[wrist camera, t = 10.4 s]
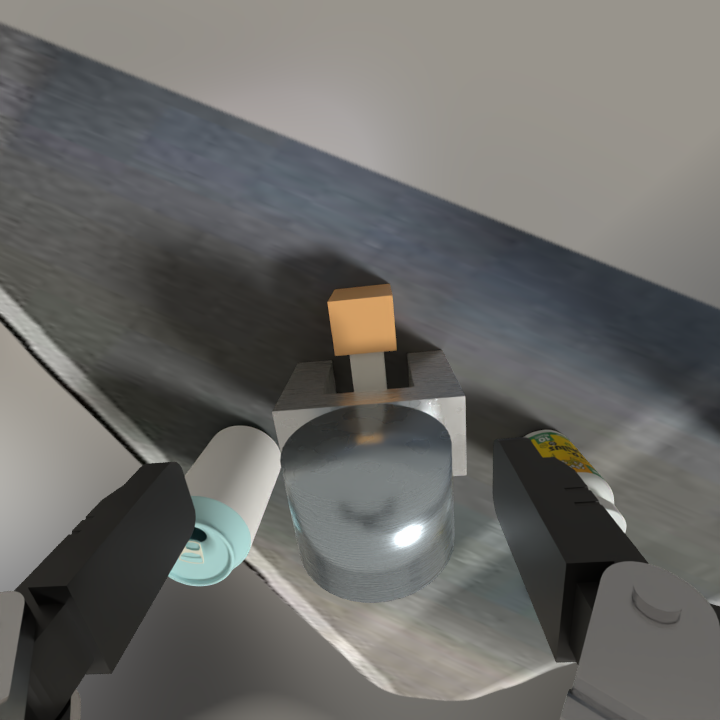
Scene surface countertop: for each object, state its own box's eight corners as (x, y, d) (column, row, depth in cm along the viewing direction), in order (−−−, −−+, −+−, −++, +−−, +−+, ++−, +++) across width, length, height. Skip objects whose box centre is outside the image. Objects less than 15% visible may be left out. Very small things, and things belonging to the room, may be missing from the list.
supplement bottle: (501, 465, 36) (542, 546, 27) (529, 419, 35) (583, 490, 26) (551, 483, 37) (607, 569, 28) (582, 439, 35) (653, 515, 26)
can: (196, 439, 37) (117, 536, 25) (258, 410, 35) (203, 500, 24) (237, 493, 39) (180, 605, 28) (296, 467, 37) (262, 575, 26)
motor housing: (442, 350, 33) (513, 491, 16) (444, 412, 35) (509, 597, 18) (298, 362, 34) (219, 509, 17) (308, 423, 36) (248, 607, 19)
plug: (389, 283, 31) (392, 295, 26) (406, 482, 38) (410, 520, 33) (334, 289, 31) (327, 301, 26) (361, 485, 38) (358, 523, 33)
